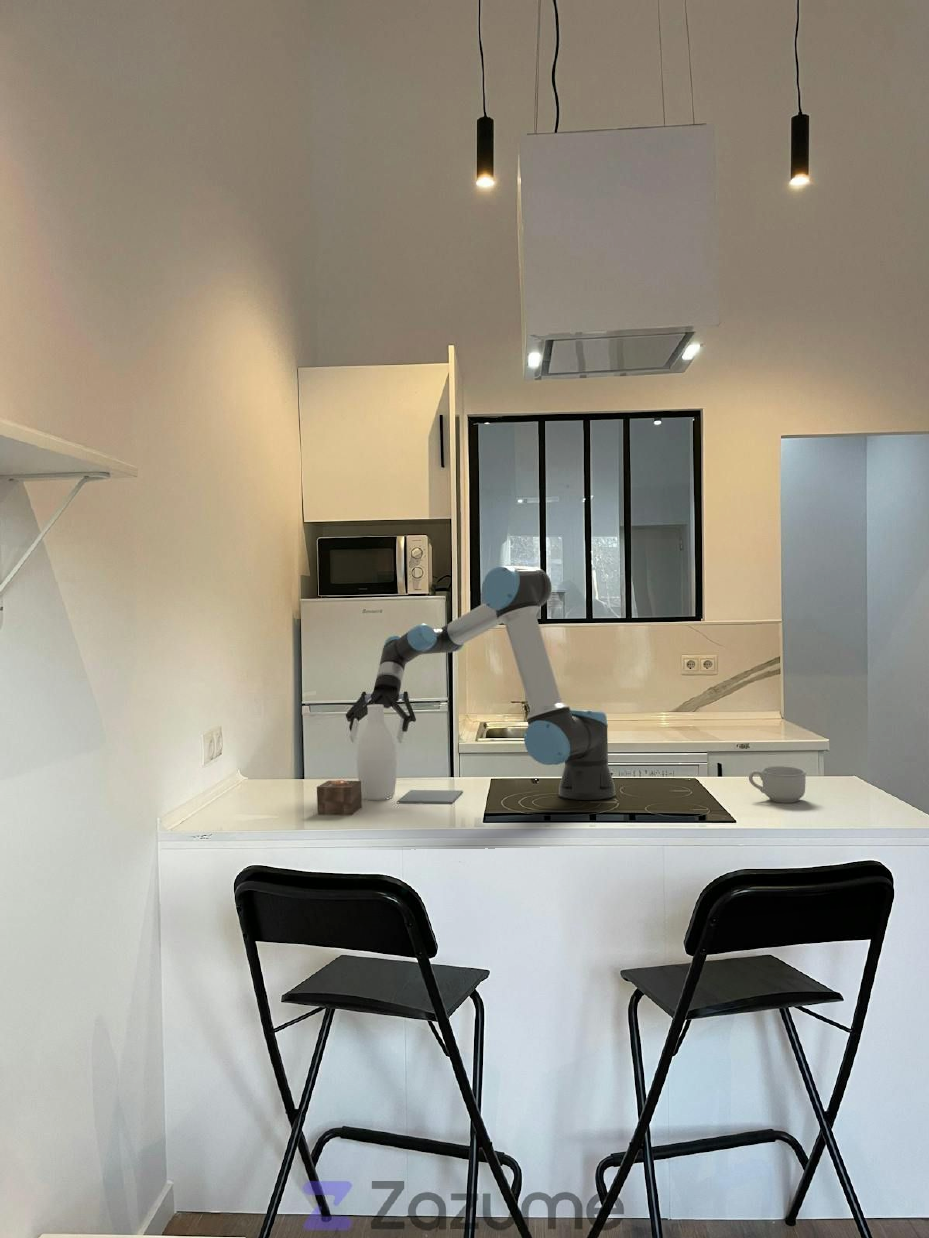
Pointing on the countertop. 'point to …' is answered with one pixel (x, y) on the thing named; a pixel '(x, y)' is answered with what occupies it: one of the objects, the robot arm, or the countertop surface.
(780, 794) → the teacup
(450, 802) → the mat
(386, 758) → the bottle
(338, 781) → the release button
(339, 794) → the button housing
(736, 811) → the countertop surface
